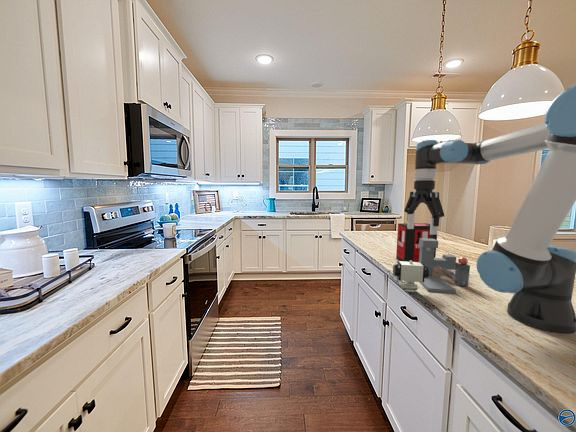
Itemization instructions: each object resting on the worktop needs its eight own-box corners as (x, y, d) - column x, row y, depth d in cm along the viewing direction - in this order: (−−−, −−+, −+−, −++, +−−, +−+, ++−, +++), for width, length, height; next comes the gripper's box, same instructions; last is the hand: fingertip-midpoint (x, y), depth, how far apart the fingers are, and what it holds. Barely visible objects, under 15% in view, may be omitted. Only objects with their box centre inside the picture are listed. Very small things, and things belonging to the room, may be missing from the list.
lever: (468, 286, 103) (470, 258, 101) (458, 285, 103) (461, 258, 102) (446, 270, 122) (448, 247, 121) (438, 269, 123) (440, 246, 121)
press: (479, 294, 95) (483, 250, 93) (427, 291, 98) (430, 248, 96) (450, 273, 118) (453, 237, 116) (409, 271, 121) (411, 236, 119)
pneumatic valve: (427, 294, 95) (429, 263, 94) (394, 292, 97) (395, 261, 96) (422, 289, 100) (425, 259, 99) (391, 286, 103) (392, 257, 101)
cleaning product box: (404, 264, 133) (406, 226, 130) (396, 259, 141) (398, 223, 139) (434, 263, 134) (437, 225, 131) (424, 258, 142) (427, 223, 140)
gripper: (458, 179, 93) (453, 236, 95) (412, 180, 117) (409, 226, 119) (440, 178, 91) (436, 237, 93) (397, 180, 115) (395, 227, 118)
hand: (421, 231), depth 106 cm, fingers open, 13 cm apart
